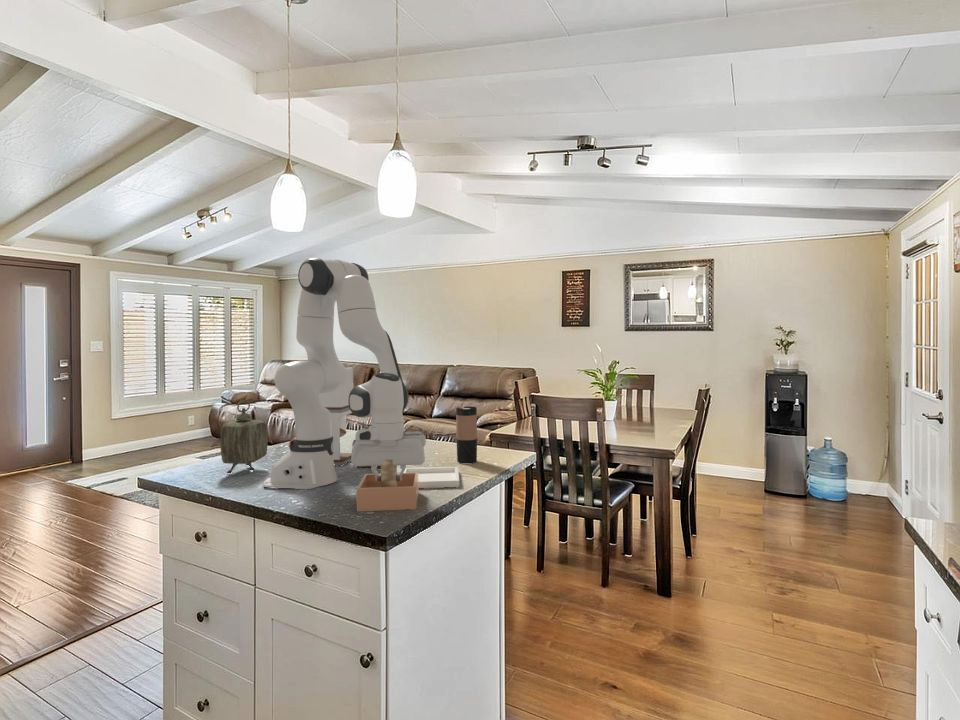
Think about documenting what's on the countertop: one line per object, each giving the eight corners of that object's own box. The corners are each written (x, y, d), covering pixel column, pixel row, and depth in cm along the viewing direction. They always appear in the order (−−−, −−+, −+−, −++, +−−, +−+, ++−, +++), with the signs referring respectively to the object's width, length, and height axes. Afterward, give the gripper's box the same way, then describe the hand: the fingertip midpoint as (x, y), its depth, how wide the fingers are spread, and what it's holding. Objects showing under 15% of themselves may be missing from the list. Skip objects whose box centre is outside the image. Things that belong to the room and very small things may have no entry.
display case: (342, 465, 193) (340, 369, 192) (314, 464, 195) (312, 369, 194) (354, 458, 205) (352, 367, 203) (328, 457, 206) (326, 367, 205)
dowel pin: (380, 503, 147) (379, 460, 147) (382, 498, 152) (381, 456, 151) (396, 502, 148) (395, 459, 147) (397, 498, 152) (397, 456, 152)
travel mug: (475, 464, 193) (474, 409, 192) (454, 463, 194) (453, 408, 194) (479, 459, 200) (478, 406, 200) (459, 459, 202) (458, 406, 201)
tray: (400, 489, 162) (399, 482, 162) (404, 474, 180) (403, 468, 180) (459, 487, 163) (459, 480, 163) (457, 472, 181) (457, 466, 181)
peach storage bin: (356, 511, 141) (356, 488, 141) (365, 494, 157) (364, 474, 157) (416, 509, 143) (415, 487, 142) (418, 492, 158) (418, 472, 158)
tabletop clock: (246, 466, 194) (244, 397, 193) (269, 467, 192) (268, 397, 191) (221, 476, 179) (219, 402, 178) (246, 477, 178) (244, 402, 177)
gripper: (425, 429, 153) (426, 476, 153) (353, 430, 151) (354, 478, 152) (425, 432, 147) (425, 482, 147) (349, 434, 145) (350, 484, 146)
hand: (388, 480), depth 150 cm, fingers closed on dowel pin, 4 cm apart
